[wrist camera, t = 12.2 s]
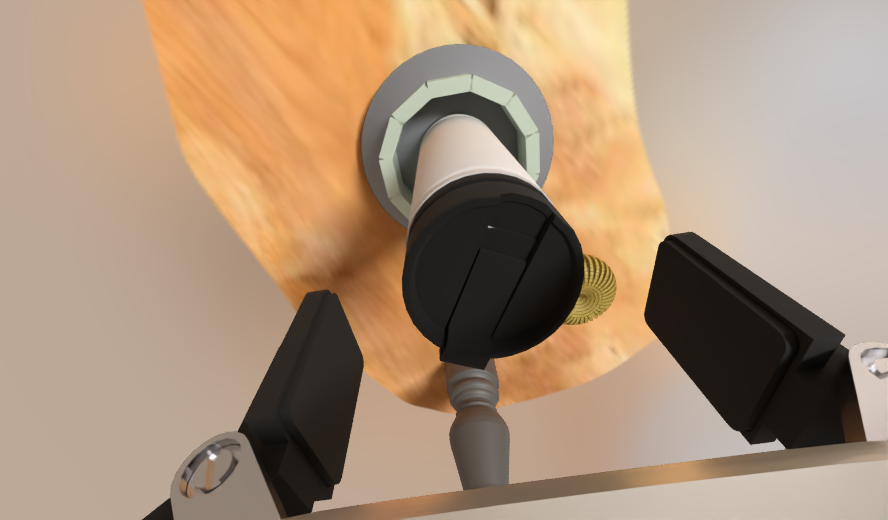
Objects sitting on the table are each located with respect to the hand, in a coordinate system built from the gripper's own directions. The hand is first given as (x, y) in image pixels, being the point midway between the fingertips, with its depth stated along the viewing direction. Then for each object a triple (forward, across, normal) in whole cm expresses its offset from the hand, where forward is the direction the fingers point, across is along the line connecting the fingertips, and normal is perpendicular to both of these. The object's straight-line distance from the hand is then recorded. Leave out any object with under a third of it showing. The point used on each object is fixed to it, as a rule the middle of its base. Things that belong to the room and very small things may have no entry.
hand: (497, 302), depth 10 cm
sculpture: (+21, -10, +16) cm, 29 cm away
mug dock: (+22, 0, +1) cm, 22 cm away
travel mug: (+21, 0, +1) cm, 21 cm away
